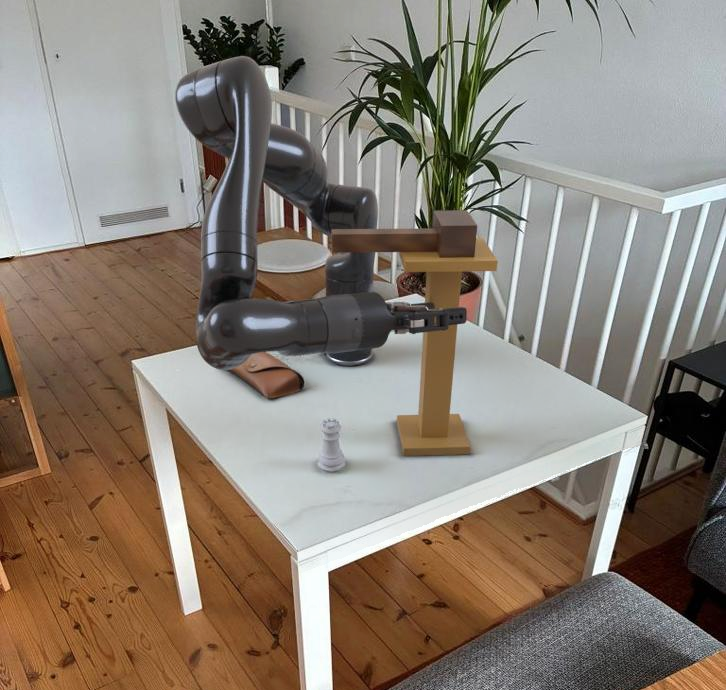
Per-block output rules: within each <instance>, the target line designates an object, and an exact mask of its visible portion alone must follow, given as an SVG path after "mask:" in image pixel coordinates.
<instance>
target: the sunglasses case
mask: <svg viewBox="0 0 726 690" xmlns="http://www.w3.org/2000/svg"><path fill="white" fill-rule="evenodd" d="M226 371H227V372H229V373H231V374H233V375H234V376H235V377H237V378H238V379H240V380H241V381H242V382H244V383H245V384H247V385H248V386H249V387H251V388H252V389H253V390H255V391H256V392H257V393H259V394H260V395H261V396H263V397H264V398H266V399H270V400H271V399H278V398H282V397H286V396H289V395H293V394H296V393H298V392H299V393H300V392H301V391H302V390H303V388H304V386H305V379H304V377H303V375H302V374H301V373H300V372H299V371H297V370H295V369H293V368H292V367H290V366H289V365H287V364H285V363H284V362H283V361H281V360H280V359H278V358H277V357H275V356H274V355H271V354H270V353H268V352H260V353H255V354H251V355H250V356H249V357H248V358H247V360H246V361H245V362H243V363H242V364H241V365H240V366H238V367H236V368H233V369H230V370H226Z"/></svg>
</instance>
